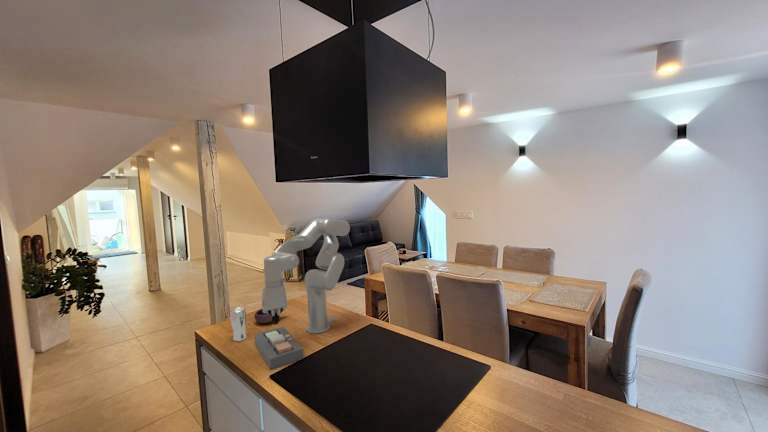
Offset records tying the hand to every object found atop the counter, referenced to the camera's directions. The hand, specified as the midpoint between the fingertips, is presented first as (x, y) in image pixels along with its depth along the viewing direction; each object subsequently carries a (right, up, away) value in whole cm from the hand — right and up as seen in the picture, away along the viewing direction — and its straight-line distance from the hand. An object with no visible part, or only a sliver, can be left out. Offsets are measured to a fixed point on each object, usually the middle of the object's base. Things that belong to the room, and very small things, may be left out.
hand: (275, 323), depth 143 cm
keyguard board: (0, -13, +2) cm, 13 cm away
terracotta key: (+5, -11, -5) cm, 13 cm away
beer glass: (-23, -13, +15) cm, 31 cm away
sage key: (-5, -11, +10) cm, 16 cm away
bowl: (-16, -11, +36) cm, 41 cm away
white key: (0, -10, +2) cm, 10 cm away
